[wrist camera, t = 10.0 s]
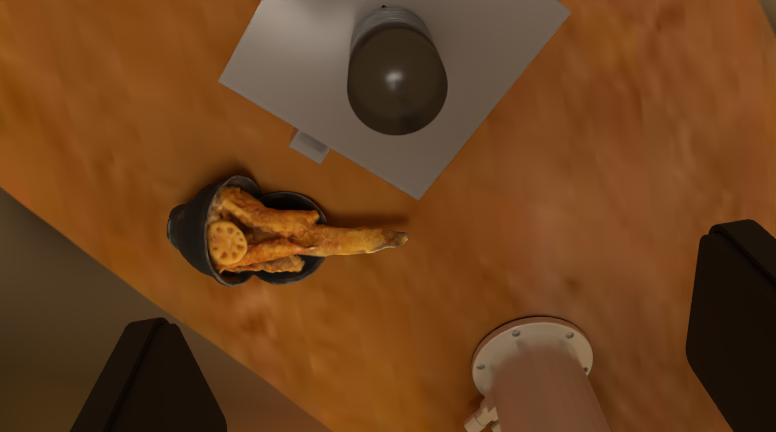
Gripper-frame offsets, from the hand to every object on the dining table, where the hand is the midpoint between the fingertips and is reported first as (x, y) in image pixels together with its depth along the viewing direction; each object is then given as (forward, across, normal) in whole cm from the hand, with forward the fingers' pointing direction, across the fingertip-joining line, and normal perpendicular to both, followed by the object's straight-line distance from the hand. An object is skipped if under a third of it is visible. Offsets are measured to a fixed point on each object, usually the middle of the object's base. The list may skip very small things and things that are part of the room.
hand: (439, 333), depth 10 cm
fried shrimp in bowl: (+35, +12, +16) cm, 40 cm away
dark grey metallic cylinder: (+29, 0, -1) cm, 29 cm away
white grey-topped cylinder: (+34, +1, 0) cm, 34 cm away
